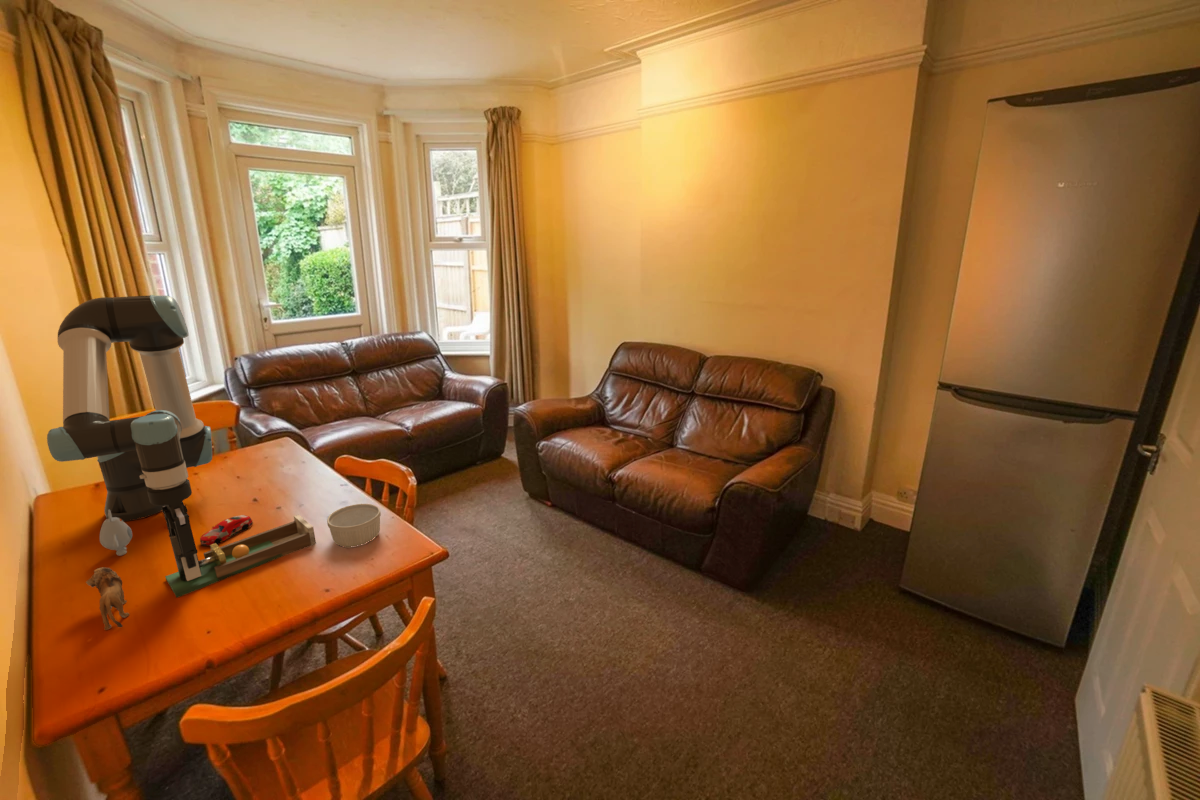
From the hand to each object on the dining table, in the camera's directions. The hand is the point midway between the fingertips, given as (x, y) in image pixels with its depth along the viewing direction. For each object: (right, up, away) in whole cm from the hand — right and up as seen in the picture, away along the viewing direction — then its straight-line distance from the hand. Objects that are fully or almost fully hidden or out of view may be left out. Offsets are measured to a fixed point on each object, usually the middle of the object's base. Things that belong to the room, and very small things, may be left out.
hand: (190, 572), depth 125 cm
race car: (-6, +3, +21) cm, 22 cm away
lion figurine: (-9, -6, -10) cm, 15 cm away
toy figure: (-27, +1, +12) cm, 30 cm away
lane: (+7, 0, +9) cm, 11 cm away
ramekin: (+31, +3, +20) cm, 37 cm away
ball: (+7, +3, +7) cm, 11 cm away
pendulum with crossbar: (+2, -1, +2) cm, 3 cm away
